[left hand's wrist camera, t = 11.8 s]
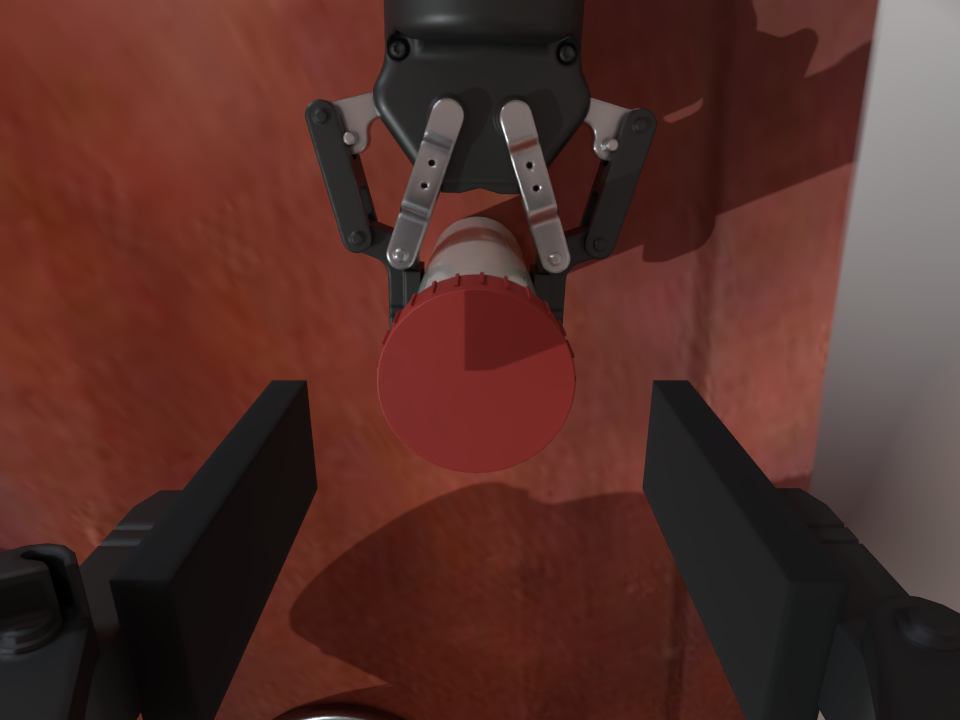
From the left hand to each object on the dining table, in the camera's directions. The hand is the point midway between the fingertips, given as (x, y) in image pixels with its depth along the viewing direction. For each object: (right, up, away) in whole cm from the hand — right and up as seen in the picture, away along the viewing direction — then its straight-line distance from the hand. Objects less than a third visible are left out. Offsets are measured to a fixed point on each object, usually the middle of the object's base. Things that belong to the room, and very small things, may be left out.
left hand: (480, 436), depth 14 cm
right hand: (0, +2, +14) cm, 15 cm away
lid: (0, +1, +4) cm, 4 cm away
